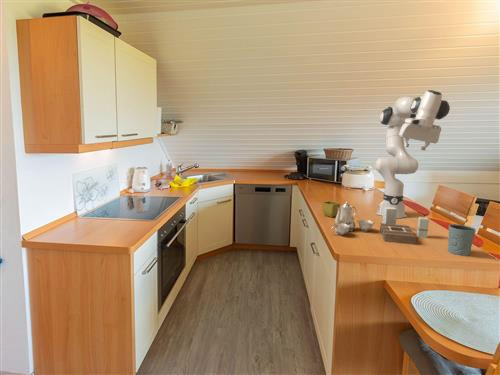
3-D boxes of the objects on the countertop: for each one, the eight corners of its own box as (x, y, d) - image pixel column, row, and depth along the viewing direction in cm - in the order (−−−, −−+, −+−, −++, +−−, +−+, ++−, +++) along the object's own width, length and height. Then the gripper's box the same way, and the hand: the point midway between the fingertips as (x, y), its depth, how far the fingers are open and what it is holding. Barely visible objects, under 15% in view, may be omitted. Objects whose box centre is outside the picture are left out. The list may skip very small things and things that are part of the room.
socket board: (380, 230, 176) (380, 222, 175) (407, 232, 172) (408, 225, 171) (384, 241, 157) (385, 233, 156) (415, 244, 153) (416, 236, 152)
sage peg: (416, 235, 168) (418, 217, 166) (425, 235, 167) (427, 217, 165) (418, 237, 164) (420, 218, 162) (426, 238, 163) (429, 219, 161)
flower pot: (332, 218, 198) (332, 204, 197) (320, 215, 205) (321, 202, 203) (339, 216, 204) (340, 203, 202) (328, 213, 210) (329, 200, 209)
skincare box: (391, 227, 181) (393, 207, 179) (395, 229, 177) (397, 209, 175) (381, 227, 181) (383, 207, 179) (384, 229, 177) (386, 208, 175)
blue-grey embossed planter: (448, 254, 141) (451, 228, 139) (443, 247, 150) (446, 223, 148) (475, 258, 137) (478, 231, 135) (468, 250, 146) (471, 225, 144)
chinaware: (341, 242, 160) (346, 211, 155) (318, 230, 173) (322, 201, 169) (376, 233, 174) (382, 205, 170) (352, 223, 188) (357, 197, 184)
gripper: (438, 125, 167) (429, 150, 171) (402, 118, 165) (393, 144, 169) (446, 127, 161) (436, 153, 165) (408, 119, 159) (399, 146, 163)
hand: (414, 148), depth 167 cm, fingers open, 8 cm apart
